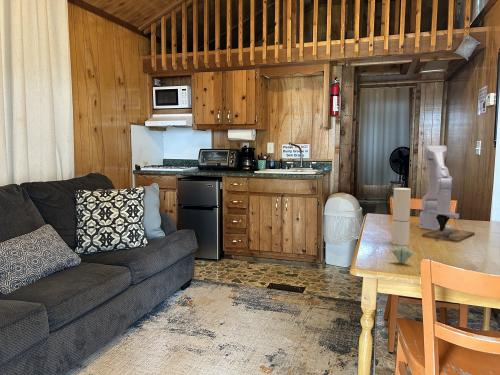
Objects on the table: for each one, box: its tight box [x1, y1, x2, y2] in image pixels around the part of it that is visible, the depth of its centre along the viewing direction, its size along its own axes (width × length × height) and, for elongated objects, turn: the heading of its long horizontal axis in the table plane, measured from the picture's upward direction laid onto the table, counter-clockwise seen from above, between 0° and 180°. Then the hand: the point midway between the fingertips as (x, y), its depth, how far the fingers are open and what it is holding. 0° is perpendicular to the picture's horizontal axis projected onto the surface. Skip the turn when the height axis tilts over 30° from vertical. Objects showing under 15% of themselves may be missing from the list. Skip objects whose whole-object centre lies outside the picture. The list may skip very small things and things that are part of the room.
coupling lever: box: [443, 223, 454, 237], centre depth 184 cm, size 14×4×3 cm, turn 150°
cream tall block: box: [391, 187, 412, 246], centre depth 173 cm, size 7×7×25 cm
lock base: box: [421, 228, 476, 243], centre depth 188 cm, size 16×22×2 cm
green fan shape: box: [390, 245, 414, 265], centre depth 144 cm, size 8×4×7 cm, turn 57°
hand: (442, 230), depth 184 cm, fingers closed, pressing on coupling lever
